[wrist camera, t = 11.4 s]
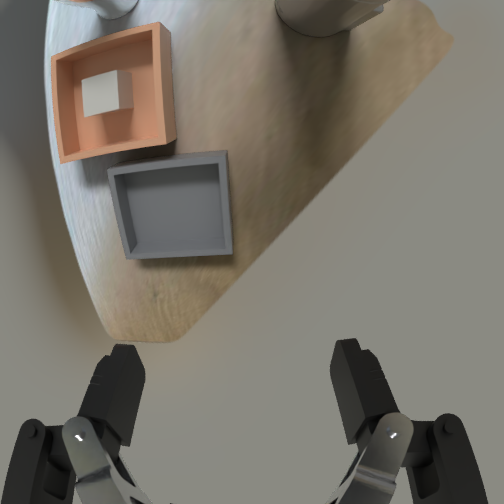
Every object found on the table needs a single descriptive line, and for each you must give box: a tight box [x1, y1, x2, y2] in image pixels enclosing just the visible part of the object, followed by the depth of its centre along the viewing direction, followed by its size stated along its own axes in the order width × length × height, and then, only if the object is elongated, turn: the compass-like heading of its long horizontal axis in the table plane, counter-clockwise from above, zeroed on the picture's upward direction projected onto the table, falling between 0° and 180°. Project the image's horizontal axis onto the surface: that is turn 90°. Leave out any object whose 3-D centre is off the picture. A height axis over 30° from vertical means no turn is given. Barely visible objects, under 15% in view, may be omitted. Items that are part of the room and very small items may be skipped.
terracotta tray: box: [51, 22, 177, 164], centre depth 26 cm, size 14×14×5 cm
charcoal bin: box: [107, 150, 233, 259], centre depth 34 cm, size 14×12×4 cm
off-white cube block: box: [82, 70, 134, 117], centre depth 26 cm, size 4×4×4 cm
